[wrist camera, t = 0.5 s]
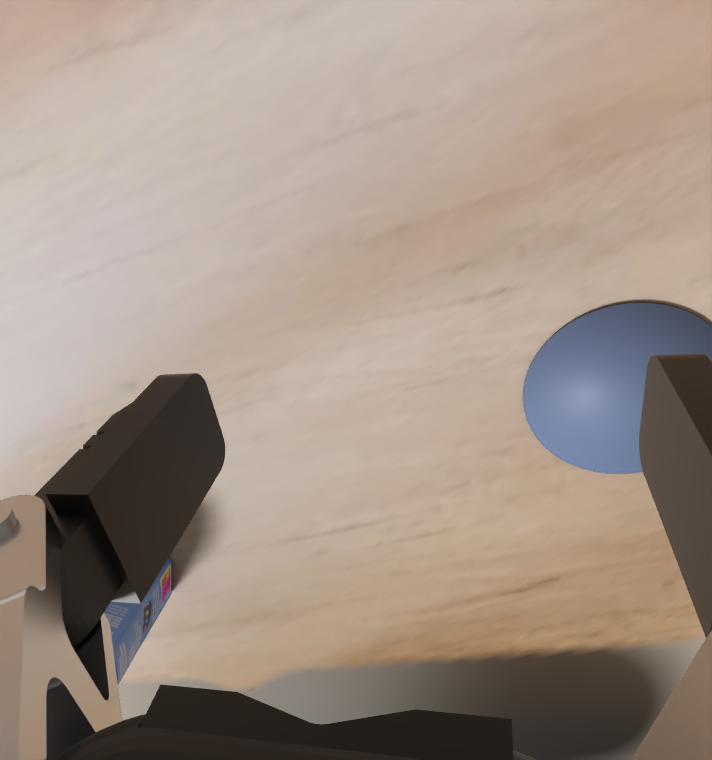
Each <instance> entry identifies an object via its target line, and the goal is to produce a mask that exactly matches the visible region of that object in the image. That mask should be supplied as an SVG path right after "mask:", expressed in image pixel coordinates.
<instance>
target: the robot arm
mask: <svg viewBox="0 0 712 760" xmlns="http://www.w3.org/2000/svg"><path fill="white" fill-rule="evenodd" d="M639 453H640V461H641V466H642V470H643V473H644V475H645V478H646V481H647V483H648V486H649V489H650V491H651V494H652V497H653V499H654V502H655V504H656V507H657V510H658V512H659V515H660V518H661V520H662V523H663V526H664V528H665V531H666V533H667V536H668V539H669V541H670V544H671V547H672V549H673V552H674V555H675V557H676V560H677V562H678V565H679V568H680V570H681V573H682V576H683V578H684V581H685V584H686V586H687V589H688V591H689V594H690V597H691V599H692V602H693V605H694V607H695V610H696V613H697V615H698V618H699V620H700V623H701V626H702V628H703V631H704V634H705V636H706V639H705V641H704V643H703V644H702V646H701V647H700V649H699V651H698V652H697V654H696V656H695V657H694V659H693V660H692V662H691V664H690V666H689V667H688V669H687V670H686V672H685V674H684V676H683V677H682V678H681V680H680V682H679V683H678V685H677V687H676V688H675V690H674V692H673V693H672V695H671V696H670V698H669V700H668V701H667V703H666V705H665V706H664V708H663V709H662V711H661V713H660V714H659V716H658V718H657V719H656V721H655V723H654V724H653V726H652V727H651V729H650V731H649V732H648V734H647V736H646V737H645V739H644V740H643V742H642V744H641V745H640V747H639V749H638V750H637V752H636V754H635V755H634V757H633V758H632V760H712V362H711V361H710V359H709V358H708V357H707V355H705V354H703V353H698V354H673V355H653V356H651V357H650V359H649V362H648V365H647V371H646V380H645V388H644V397H643V406H642V414H641V423H640V432H639ZM224 458H225V443H224V438H223V435H222V431H221V428H220V425H219V422H218V419H217V416H216V413H215V409H214V406H213V403H212V400H211V397H210V394H209V391H208V387H207V385H206V382H205V380H204V379H203V377H202V376H201V375H199V374H196V373H193V374H170V375H160V376H158V377H157V378H156V379H155V380H154V381H153V382H152V383H151V384H150V385H149V386H148V387H147V388H146V389H145V390H144V391H143V392H142V393H141V394H140V395H139V396H138V397H137V398H136V400H135V401H134V402H133V403H131V404H129V405H128V406H126V407H125V408H123V409H122V410H120V411H118V412H117V413H115V414H114V415H112V416H111V417H110V418H109V420H108V421H107V422H106V423H105V424H104V425H103V426H102V427H101V428H100V429H99V430H98V431H97V435H93V436H92V437H91V438H90V439H89V440H88V441H87V442H86V443H85V444H84V445H83V449H79V450H78V451H77V452H76V453H75V454H74V455H73V457H72V458H71V459H70V460H69V461H68V462H67V463H66V464H65V465H64V466H63V467H62V468H61V469H60V470H59V471H58V472H57V473H56V474H55V475H54V476H53V477H52V478H51V479H50V480H49V481H48V482H47V483H46V484H45V485H44V486H43V487H42V488H41V489H40V490H39V491H38V492H37V493H36V495H35V496H31V495H20V496H14V497H9V498H6V499H3V500H0V760H536V759H533V758H531V757H528V756H526V755H523V754H521V753H518V752H516V751H514V750H513V740H512V721H511V720H512V719H505V718H495V717H485V716H475V715H464V714H455V713H444V712H434V711H424V710H410V711H404V712H398V713H392V714H386V715H380V716H374V717H367V718H361V719H355V720H349V721H343V722H337V723H331V724H322V725H320V724H313V723H309V722H307V721H305V720H302V719H300V718H298V717H295V716H293V715H290V714H288V713H286V712H283V711H281V710H279V709H276V708H274V707H272V706H269V705H267V704H264V703H262V702H260V701H257V700H255V699H252V698H250V697H248V696H245V695H243V694H241V693H238V692H231V691H220V690H210V689H200V688H190V687H189V688H188V687H180V686H169V685H160V687H159V689H158V691H157V693H156V695H155V697H154V699H153V701H152V703H151V705H150V707H149V709H148V711H147V713H146V714H145V715H140V716H137V717H134V718H131V719H127V720H124V721H123V718H122V713H121V707H120V698H119V690H118V683H117V675H116V667H115V660H114V652H113V644H112V636H111V629H110V624H109V622H108V620H107V618H106V616H105V614H104V612H105V610H106V609H107V607H108V606H109V604H110V603H111V602H124V603H140V604H141V603H142V601H143V599H144V598H145V596H146V594H147V593H148V591H149V589H150V588H151V586H152V584H153V583H154V581H155V579H156V578H157V576H158V574H159V573H160V571H161V569H162V568H163V566H164V564H165V563H166V561H167V559H168V558H169V556H170V554H171V553H172V551H173V549H174V548H175V546H176V544H177V543H178V541H179V539H180V537H181V536H182V534H183V532H184V531H185V529H186V527H187V526H188V524H189V522H190V521H191V519H192V517H193V516H194V514H195V512H196V511H197V509H198V507H199V506H200V504H201V502H202V501H203V499H204V497H205V496H206V494H207V492H208V491H209V489H210V487H211V486H212V484H213V482H214V481H215V479H216V477H217V476H218V474H219V472H220V471H221V469H222V466H223V463H224Z"/></svg>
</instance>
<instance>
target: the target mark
mask: <svg viewBox="0 0 712 760" xmlns="http://www.w3.org/2000/svg"><path fill="white" fill-rule="evenodd" d="M698 353H703V354H705V355H707V357H708V358H709V359H710V361H711V362H712V326H711V325H709V324H708V323H706V322H705V321H704V320H702V319H701V318H699V317H697V316H695V315H694V314H692V313H690V312H687V311H685V310H682V309H679V308H677V307H673V306H668V305H664V304H657V303H647V302H643V303H625V304H617V305H613V306H609V307H604V308H601V309H598V310H595V311H592V312H590V313H587V314H585V315H583V316H581V317H579V318H577V319H575V320H573V321H572V322H570V323H569V324H567V325H565V326H564V327H562V328H561V329H560V330H559V331H558V332H556V333H555V334H554V335H553V336H552V337H551V338H550V339H549V340H548V341H547V342H546V343H545V344H544V345H543V346H542V348H541V349H540V350H539V352H538V353H537V354H536V356H535V358H534V359H533V361H532V363H531V365H530V367H529V370H528V372H527V375H526V379H525V383H524V390H523V403H524V411H525V414H526V418H527V421H528V423H529V426H530V428H531V430H532V431H533V433H534V435H535V436H536V438H537V439H538V440H539V441H540V442H541V444H542V445H543V446H544V447H545V448H546V449H548V450H549V451H550V452H551V453H552V454H554V455H555V456H557V457H558V458H560V459H561V460H563V461H565V462H567V463H569V464H571V465H574V466H577V467H579V468H582V469H586V470H590V471H594V472H600V473H607V474H629V473H638V472H643V470H642V466H641V461H640V453H639V432H640V423H641V414H642V406H643V397H644V388H645V380H646V371H647V365H648V362H649V359H650V357H651V356H653V355H673V354H698Z"/></svg>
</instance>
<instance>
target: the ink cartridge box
mask: <svg viewBox="0 0 712 760" xmlns="http://www.w3.org/2000/svg"><path fill="white" fill-rule="evenodd" d="M171 586H172V560H171V559H170V558H168V559H167V561H166V563H165V564H164V566H163V568H162V569H161V571H160V573H159V574H158V576H157V578H156V579H155V581H154V583H153V584H152V586H151V588H150V589H149V591H148V593H147V594H146V596H145V598H144V599H143V601H142V603H141V604H140V603H124V602H111V603H110V604H109V606H108V607H107V609H106V610H105V612H104V614H105V616H106V618H107V620H108V622H109V624H110V629H111V636H112V644H113V652H114V660H115V667H116V675H117V683H118V684H119V682H120V681H121V679H122V677H123V675H124V674H125V672H126V670H127V668H128V667H129V665H130V663H131V661H132V660H133V658H134V656H135V655H136V653H137V651H138V649H139V648H140V646H141V644H142V643H143V641H144V640H145V638H146V636H147V634H148V633H149V631H150V629H151V627H152V626H153V624H154V622H155V621H156V619H157V617H158V616H159V614H160V612H161V611H162V609H163V607H164V605H165V604H166V602H167V600H168V599H169V597H170V595H171V593H172V592H171V591H172V588H171Z"/></svg>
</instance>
